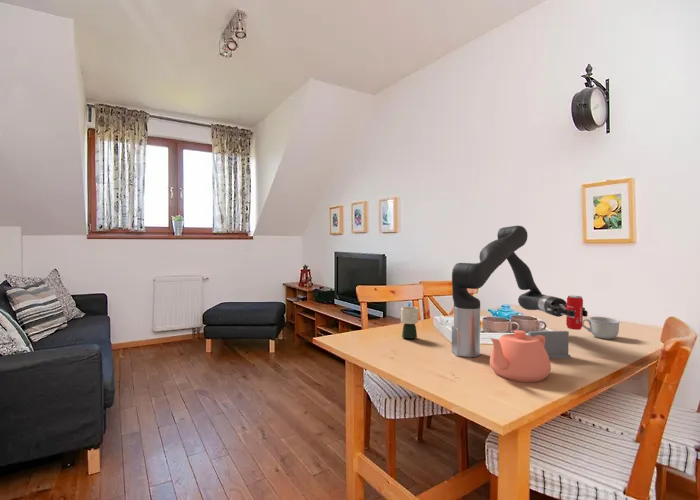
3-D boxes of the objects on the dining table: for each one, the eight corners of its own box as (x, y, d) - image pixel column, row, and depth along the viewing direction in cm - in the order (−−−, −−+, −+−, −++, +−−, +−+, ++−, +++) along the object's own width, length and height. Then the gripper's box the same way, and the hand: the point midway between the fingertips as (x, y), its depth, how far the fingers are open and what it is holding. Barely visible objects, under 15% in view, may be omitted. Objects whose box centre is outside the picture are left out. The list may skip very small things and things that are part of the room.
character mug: (422, 341, 155) (422, 309, 155) (406, 342, 154) (406, 310, 153) (412, 334, 166) (412, 305, 166) (397, 335, 164) (397, 306, 164)
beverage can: (584, 330, 138) (585, 297, 138) (569, 329, 139) (569, 297, 139) (579, 326, 143) (579, 295, 143) (564, 326, 145) (564, 295, 144)
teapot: (514, 391, 104) (514, 342, 103) (467, 372, 118) (468, 330, 118) (568, 375, 116) (568, 332, 115) (520, 360, 130) (520, 322, 130)
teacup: (618, 336, 164) (618, 318, 164) (620, 342, 155) (620, 322, 155) (580, 332, 171) (581, 314, 171) (580, 337, 162) (580, 318, 162)
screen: (532, 358, 132) (532, 333, 132) (526, 355, 136) (526, 330, 136) (570, 358, 133) (570, 332, 133) (563, 354, 137) (563, 330, 137)
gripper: (535, 296, 155) (561, 303, 138) (569, 296, 156) (599, 303, 139) (535, 314, 155) (561, 324, 138) (568, 314, 156) (598, 323, 139)
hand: (580, 313), depth 139 cm, fingers closed on beverage can, 4 cm apart
